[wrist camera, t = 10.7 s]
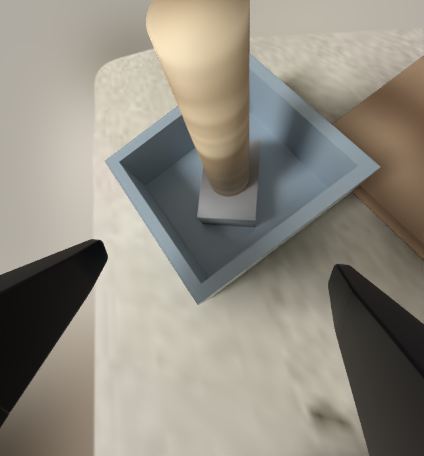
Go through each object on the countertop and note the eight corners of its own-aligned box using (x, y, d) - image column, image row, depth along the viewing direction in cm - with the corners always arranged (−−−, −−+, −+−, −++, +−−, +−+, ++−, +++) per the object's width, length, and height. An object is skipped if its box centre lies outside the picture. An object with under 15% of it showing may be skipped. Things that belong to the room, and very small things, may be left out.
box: (211, 297, 16) (197, 304, 12) (136, 186, 19) (104, 160, 15) (345, 196, 16) (380, 166, 12) (248, 102, 19) (248, 52, 15)
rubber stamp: (254, 227, 16) (268, 103, 5) (202, 224, 17) (105, 109, 5) (259, 155, 18) (278, -83, 6) (210, 155, 18) (144, -57, 7)
